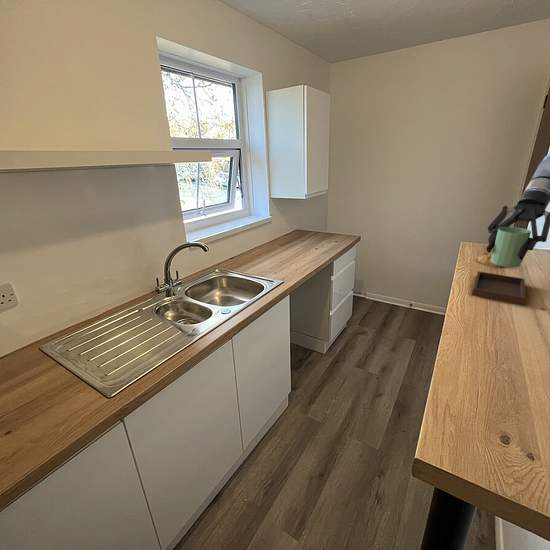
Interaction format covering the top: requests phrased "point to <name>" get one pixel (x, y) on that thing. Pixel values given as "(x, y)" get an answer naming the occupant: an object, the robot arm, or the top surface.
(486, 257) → the pastry
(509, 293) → the tray
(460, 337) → the top surface
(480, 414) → the top surface
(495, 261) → the cup
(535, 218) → the robot arm
